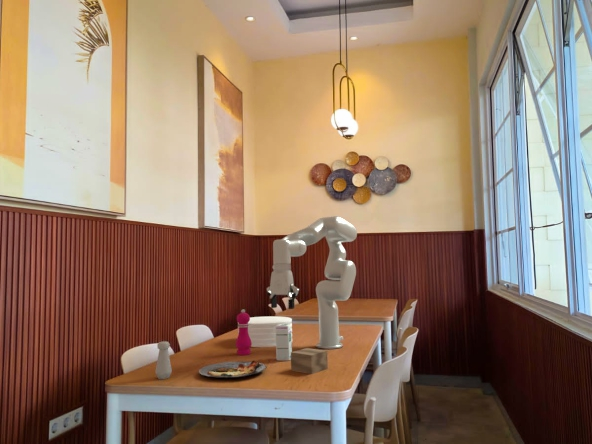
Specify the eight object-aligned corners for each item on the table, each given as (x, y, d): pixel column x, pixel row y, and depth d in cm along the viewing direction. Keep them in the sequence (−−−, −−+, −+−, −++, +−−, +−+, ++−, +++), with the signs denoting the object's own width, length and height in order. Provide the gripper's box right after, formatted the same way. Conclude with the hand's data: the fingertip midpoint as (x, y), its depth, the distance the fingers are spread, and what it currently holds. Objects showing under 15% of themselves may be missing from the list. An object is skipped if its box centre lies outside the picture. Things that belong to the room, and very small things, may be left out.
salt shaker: (157, 376, 173) (157, 340, 174) (172, 375, 173) (172, 340, 174) (153, 380, 167) (153, 343, 168) (170, 379, 167) (169, 343, 168)
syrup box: (289, 360, 193) (288, 325, 195) (275, 360, 195) (275, 325, 196) (292, 357, 199) (291, 323, 200) (279, 357, 200) (278, 323, 201)
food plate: (273, 366, 183) (273, 357, 183) (255, 383, 160) (255, 372, 161) (214, 366, 189) (214, 357, 189) (189, 382, 166) (188, 372, 166)
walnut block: (307, 365, 184) (307, 347, 185) (327, 369, 178) (327, 350, 179) (291, 370, 177) (290, 352, 177) (311, 374, 170) (311, 355, 171)
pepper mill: (254, 352, 212) (253, 308, 214) (247, 355, 206) (246, 310, 207) (240, 351, 215) (239, 308, 216) (233, 355, 208) (232, 310, 209)
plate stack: (291, 336, 254) (291, 315, 255) (293, 346, 226) (292, 322, 227) (240, 338, 253) (240, 317, 254) (235, 348, 225) (235, 324, 226)
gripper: (261, 268, 202) (261, 308, 201) (292, 268, 191) (292, 310, 190) (272, 268, 208) (273, 306, 206) (303, 267, 197) (304, 308, 196)
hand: (282, 308), depth 198 cm, fingers open, 9 cm apart
